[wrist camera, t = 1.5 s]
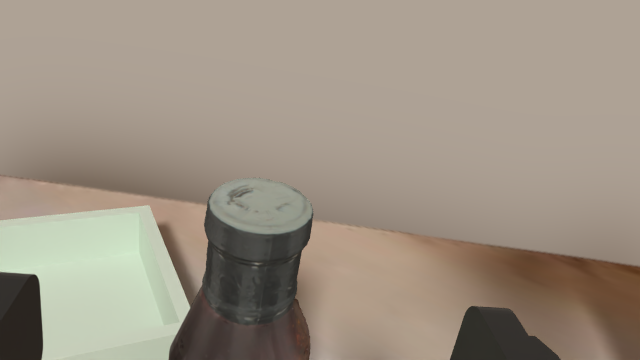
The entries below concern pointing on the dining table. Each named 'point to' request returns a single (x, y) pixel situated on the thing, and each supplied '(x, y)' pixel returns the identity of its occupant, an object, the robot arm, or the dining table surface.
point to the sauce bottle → (250, 276)
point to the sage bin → (99, 283)
